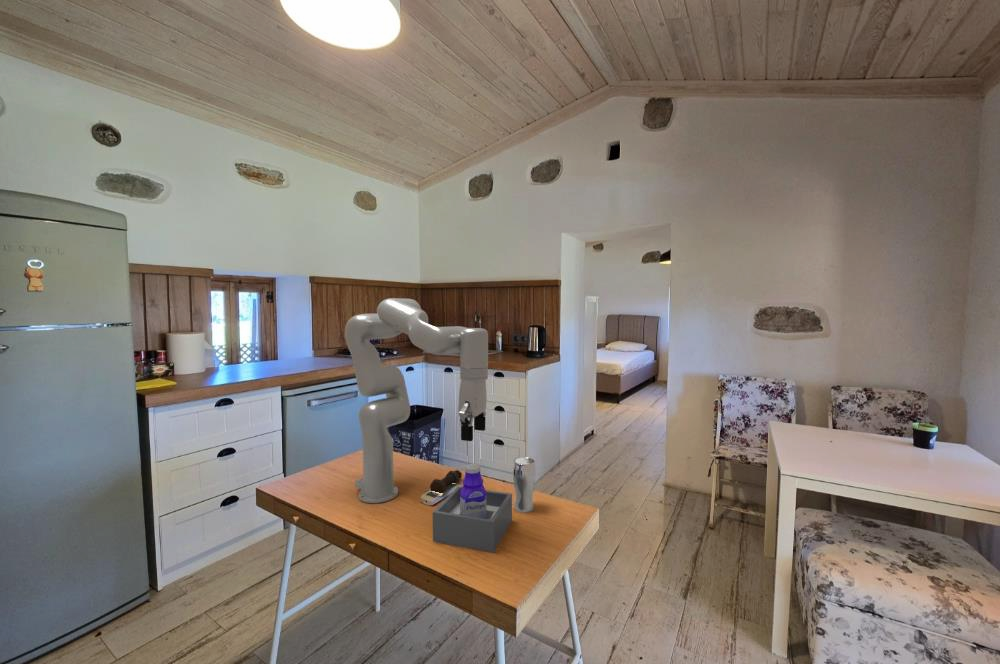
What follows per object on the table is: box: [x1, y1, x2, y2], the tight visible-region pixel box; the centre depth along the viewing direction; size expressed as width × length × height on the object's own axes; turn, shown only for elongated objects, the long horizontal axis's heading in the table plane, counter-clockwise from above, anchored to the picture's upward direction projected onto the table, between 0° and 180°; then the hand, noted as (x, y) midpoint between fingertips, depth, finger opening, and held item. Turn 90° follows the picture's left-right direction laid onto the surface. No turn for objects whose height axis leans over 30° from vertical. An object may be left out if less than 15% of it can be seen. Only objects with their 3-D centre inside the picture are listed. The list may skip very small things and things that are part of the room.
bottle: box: [460, 463, 487, 519], centre depth 116 cm, size 7×6×17 cm
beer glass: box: [512, 456, 537, 514], centre depth 129 cm, size 7×7×15 cm
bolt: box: [429, 469, 463, 494], centre depth 145 cm, size 6×5×15 cm
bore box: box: [432, 485, 513, 554], centre depth 116 cm, size 17×17×8 cm
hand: (473, 435), depth 115 cm, fingers open, 9 cm apart
